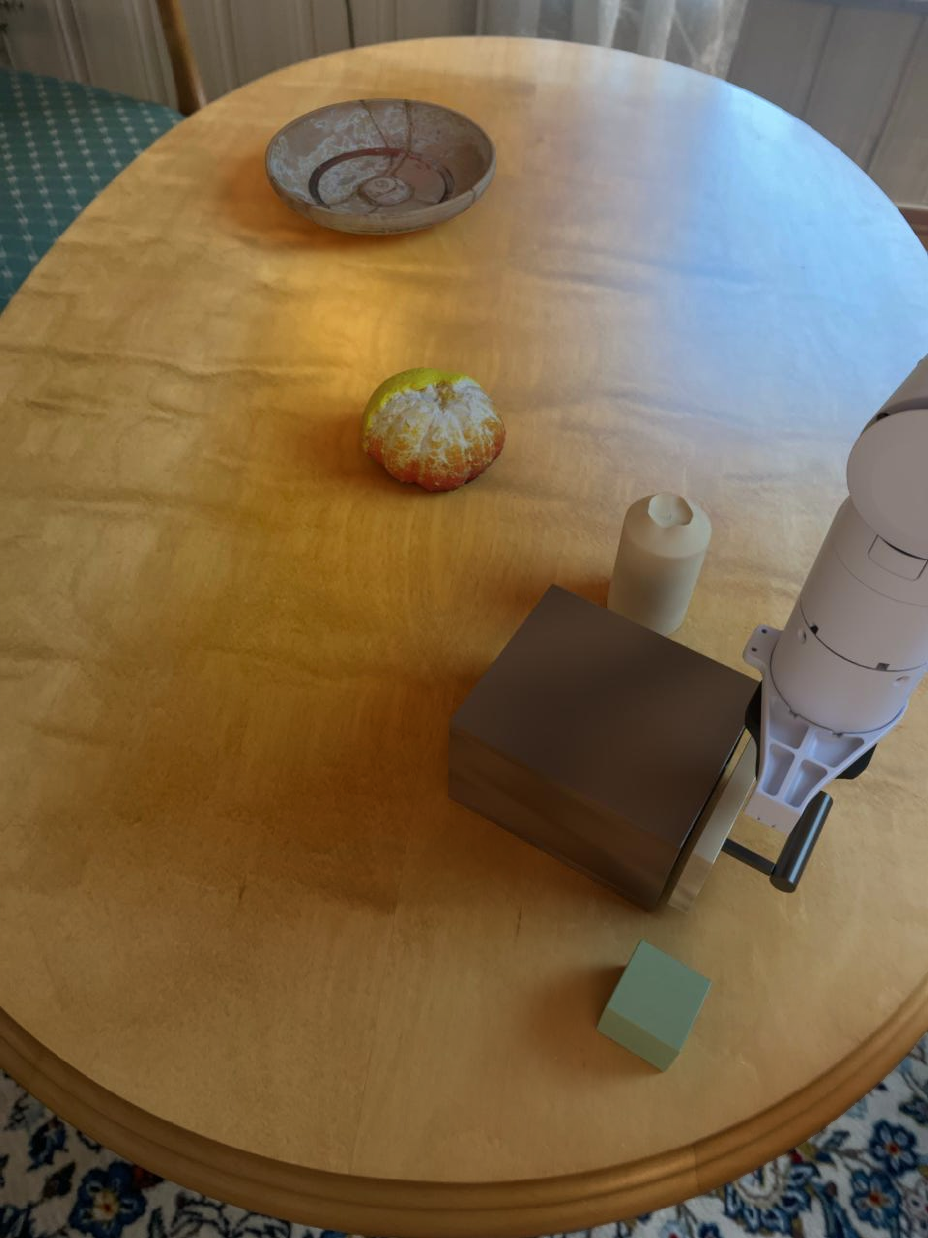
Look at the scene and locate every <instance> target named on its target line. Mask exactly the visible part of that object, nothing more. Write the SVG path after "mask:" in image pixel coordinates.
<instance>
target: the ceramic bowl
mask: <svg viewBox="0 0 928 1238" xmlns="http://www.w3.org/2000/svg"><path fill="white" fill-rule="evenodd" d="M263 162H264V171H265V174H266V175H265V176H266V179H267V181H268V183H269V186H270V187H271V188H272V190H273V191H274V192H275V194H276V195H277V196H278V197H279V199H280V200H281V201H282V202H283V203H284V204H285V205H286V206H287V207H289V208H290V209H291V210H292V211H294V212H295V213H297V214H298V215H300V216H301V217H303V218H304V219H306V220H308V221H310V222H312V223H315V224H316V225H318V226H320V227H324V228H327V229H331V230H334V231H338V232H343V233H347V234H354V235H355V234H356V235H360V236H361V235H363V236H364V235H365V236H366V235H367V236H393V235H401V234H408V233H414V232H418V231H421V230H426V229H429V228H432V227H433V228H434V227H435V226H438V225H441V224H444V223H446V222H448V221H450V220H452V219H454V218H456V217H458V216H459V215H461V214H462V213H464V212H465V211H467V210H469V208H471V207H472V205H474V204H475V203H476V202H477V201H478V200H479V199H480V198H481V197H482V196H483V195H484V193H485V192H486V191H487V190H488V188H489V186H491V184H492V181H493V179H494V176H495V173H496V168H497V149H496V146H495V144H494V142H493V140H492V138H491V137H490V135H489V134H488V133H487V131H486V130H485V129H484V128H483V127H482V126H481V125H480V124H478V123H477V122H476V121H474V120H473V119H472V118H470V117H469V116H467V115H465V114H463V113H461V112H459V111H457V110H454V109H452V108H449V107H447V106H445V105H441V104H438V103H433V102H430V101H425V100H419V99H408V98H394V97H393V98H392V97H389V98H387V97H381V98H380V97H379V98H378V97H377V98H376V97H375V98H364V99H363V98H362V99H353V100H346V101H342V102H337V103H332V104H329V105H325V106H322V107H319V108H315V109H314V110H312V111H311V110H310V111H309V112H307V113H304V114H302V115H301V116H299V117H296V118H294V119H293V120H290V121H289V122H288V123H287V124H285V125H284V126H283V127H281V129H280V130H278V131H277V132H276V133H275V134H274V135H273V136H272V138H271V139H270V141H269V143H268V144H267V146H266V149H265V154H264V161H263Z"/></svg>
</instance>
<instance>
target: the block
mask: <svg viewBox="0 0 928 1238" xmlns="http://www.w3.org/2000/svg"><path fill="white" fill-rule="evenodd" d="M712 985H713V981H712V980H711V979H710V978H708V977H706V976H704V975H703V974H701V973H699V972H698V971H696V970H694V969H692V968H691V967H689V966H688V965H686V964H684V963H682V962H681V961H679V960H677V959H676V958H674V957H672V956H670V955H668V954H667V953H665V952H664V951H662V950H660V949H658V948H657V947H655V946H654V945H652V944H650V943H649V942H647V941H645V940H643V939H640V940H639V941H638V943H637V945H636V947H635V949H634V951H633V953H632V955H631V957H630V958H629V961H628V962H627V965H626V966H625V968H624V970H623V972H622V974H621V976H620V978H619V980H618V982H617V983H616V986H615V987H614V989H613V992H612V993H611V995H610V997H609V999H608V1001H607V1003H606V1005H605V1007H604V1008H603V1009H604V1010H603V1011H602V1014H601V1016H600V1019H599V1020H598V1022H597V1024H596V1028H595V1030H596V1031H598V1032H599V1033H601V1034H603V1035H604V1036H605V1037H607V1038H608V1039H611V1040H612V1041H614V1042H615V1043H617V1044H619V1045H620V1046H622V1047H623V1048H625V1049H627V1050H628V1051H629V1052H631V1053H633V1054H634V1055H636V1056H638V1057H639V1058H641V1059H642V1060H644V1061H646V1062H647V1063H649V1064H650V1065H652V1066H653V1067H655V1068H657V1070H660V1071H661V1072H663V1073H666V1072H668V1070H669V1068H670V1067H671V1066H672V1065H673V1063H674V1062H675V1060H676V1059H677V1058H678V1057H679V1055H680V1054H681V1052H682V1050H683V1048H684V1045H685V1044H686V1041H687V1040H688V1037H689V1035H690V1033H691V1030H692V1029H693V1026H694V1024H695V1022H696V1020H697V1017H698V1015H699V1014H700V1011H701V1009H702V1006H703V1004H704V1003H705V1000H706V998H707V996H708V994H709V992H710V989H711V987H712Z"/></svg>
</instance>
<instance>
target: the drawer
mask: <svg viewBox="0 0 928 1238" xmlns="http://www.w3.org/2000/svg"><path fill="white" fill-rule="evenodd" d="M745 745H746V746H745V748H744V749H743V751H742V753H741V755H740V756H739V759H738V761H737V763H736V764H735V767H734V769H733V770H732V772H731V774H730V776H729V779H728V780H727V782H726V784H725V786H724V788H723V790H722V792H721V794H720V796H719V797H718V799H717V801H716V803H715V806H714V807H713V809H712V811H711V813H710V814H709V817H708V819H707V821H706V823H705V824H704V826H703V828H702V830H701V832H700V835H699V836H698V838H697V840H696V842H695V844H694V846H693V848H692V850H691V852H690V853H689V856H688V858H687V859H686V862H685V864H684V867H683V868H682V871H681V873H680V875H679V877H678V879H677V881H676V883H675V886H674V887H673V889H672V891H671V894H670V896H669V898H668V900H667V903H666V904H667V905H669V906H670V907H672V908H674V909H676V910H677V911H679V912H681V913H682V914H684V915H688V913H689V911H690V909H691V907H692V905H693V904H694V902H695V900H696V898H697V896H698V894H699V892H700V890H701V889H702V887H703V884H704V883H705V881H706V879H707V877H708V876H709V873H710V871H711V870H712V868H713V866H714V864H715V862H716V860H717V858H718V857H719V854H720V852H723V853H725V854H726V855H728V856H730V857H731V858H733V859H735V860H738V861H739V862H741V863H743V864H745V865H746V866H748V867H750V868H752V869H754V870H756V871H757V872H759V873H762V874H763V875H765V876H767V877H769V878H768V879H769V881H768V882H769V883H770V885H772V886H773V887H774V888H775V889H776V890H778V891H780V892H782V893H785V894H793V893H794V892H796V890H797V888H798V886H799V884H800V881H801V879H802V877H803V875H804V872H805V870H806V869H807V866H808V864H809V860H810V858H811V856H812V853H813V852H814V849H815V847H816V845H817V842H818V840H819V837H820V836H821V833H822V831H823V828H824V826H825V824H826V821H827V819H828V817H829V814H830V812H831V809H832V808H833V805H834V799H833V797H832V796H831V795H830V794H829V793H827V792H826V791H823V789H821V790H820V791H819V792H818V793H817V794H816V795H815V796H814V797H813V798H812V799H811V800H810V802H809V803H808V804H807V806H806V808H805V809H804V811H803V813H802V815H801V817H800V818H799V820H798V821H797V823H796V825H795V826H794V828H793V829H792V831H791V832H790V834H789V835H788V836H787V838H786V840H785V842H784V845H783V846H782V849H781V851H780V853H779V856H778V858H777V860H776V862H773V861H771V860H770V859H767V858H766V857H765V856H762V855H761V854H759V853H756V852H755V851H752V850H751V849H749V848H747V847H746V846H744V845H741V844H740V843H738V842H736V841H734V840H733V839H730V838H728V836H729V834H730V832H731V830H732V828H733V826H734V824H735V822H736V820H737V818H738V816H739V814H740V812H741V810H742V808H743V805H744V803H745V801H746V800H747V797H748V795H749V794H750V792H751V790H752V787H754V786H753V785H754V784H755V783H756V782H755V781H756V776H755V765H756V743H755V741H754V739H753V737H752V735H751V734H750V737H749V740H748V741H747V743H746V744H745Z"/></svg>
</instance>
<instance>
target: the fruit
mask: <svg viewBox="0 0 928 1238" xmlns="http://www.w3.org/2000/svg"><path fill="white" fill-rule="evenodd" d="M506 433H507V432H506V426H505V423H504V421H503V418H502V414H501V412H500V411H499V409H498V408H497V407H496V406H495V403H494V401H493V399H492V398H491V397H490V394H489V393H488V392H487V391H485V389H484V388H483V385H481V384H480V383H479V382H478V381H477V380H475V379H474V378H472V377H470V376H469V375H466V374H464V373H462V372H457V371H451V370H450V371H447V370H441V369H436V368H433V367H424V366H421V367H413V368H411V369H407V370H404V371H401V372H398V373H395V374H394V375H391V376H390V377H388V378H387V379H385V380H383V382H382V383H380V384H379V385H378V387H377V388H376V389H375V390H374V391H373V393H372V395H370V398H369V399H368V402H367V404H366V406H365V409H364V411H363V414H362V419H361V445H362V450H363V452H364V454H366V455H368V456H371V457H372V458H373V459H374V461H375V462H377V463H378V464H380V465H381V466H383V467H384V469H385V470H386V471H387V472H388V473H389V474H390V475H391V476H392V477H393V478H394V479H397V480H398V481H400V483H408V484H410V483H411V484H412V483H416V484H418V485H420V486H421V487H422V488H424V490H426V491H429V492H432V493H433V492H434V493H435V494H437V493H438V492H442V491H444V492H448V491H452V492H454V491H456V490H459V488H460V487H463V486H464V485H465V484H466V485H467V484H469V483H471V482H473V481H475V480H476V479H477V478H478V477H479V476H480V475H482V474H484V473H486V470H487V469H488V468H490V466H491V465H492V464H493V463H494V461H495V460H496V459H497V458H498V457H500V455H501V453H502V451H503V449H504V447H505V446H504V444H505V441H506Z"/></svg>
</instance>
